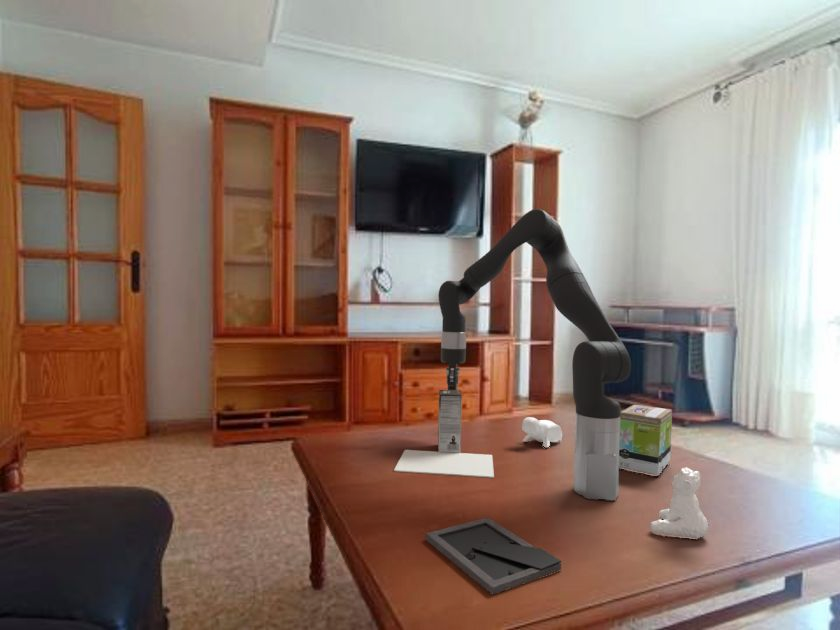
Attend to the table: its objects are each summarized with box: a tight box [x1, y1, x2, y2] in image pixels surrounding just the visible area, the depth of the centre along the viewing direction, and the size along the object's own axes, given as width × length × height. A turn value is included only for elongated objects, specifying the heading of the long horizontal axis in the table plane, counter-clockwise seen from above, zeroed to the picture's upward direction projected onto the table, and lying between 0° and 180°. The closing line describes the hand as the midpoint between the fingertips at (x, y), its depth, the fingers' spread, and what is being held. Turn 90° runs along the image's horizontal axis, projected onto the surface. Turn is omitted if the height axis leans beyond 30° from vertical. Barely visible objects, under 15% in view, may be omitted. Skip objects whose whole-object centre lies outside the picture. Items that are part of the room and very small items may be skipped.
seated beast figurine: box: [650, 466, 709, 539], centre depth 86 cm, size 10×9×12 cm
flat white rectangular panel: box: [393, 449, 495, 479], centre depth 122 cm, size 17×24×1 cm
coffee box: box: [437, 389, 463, 453], centre depth 135 cm, size 9×6×16 cm
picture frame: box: [425, 517, 562, 596], centre depth 77 cm, size 13×2×18 cm
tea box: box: [619, 404, 673, 476], centre depth 123 cm, size 15×10×15 cm
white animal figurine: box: [521, 416, 564, 448], centre depth 142 cm, size 8×8×15 cm
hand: (452, 403), depth 145 cm, fingers closed
